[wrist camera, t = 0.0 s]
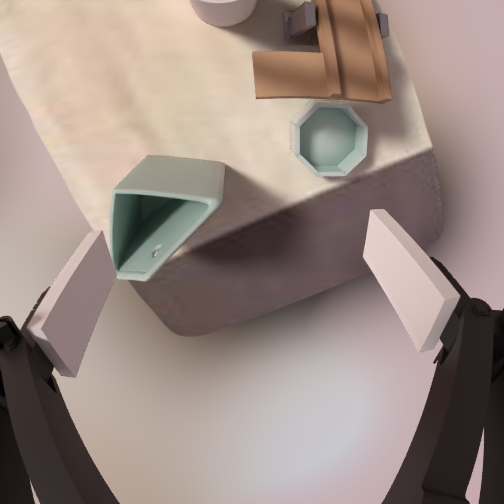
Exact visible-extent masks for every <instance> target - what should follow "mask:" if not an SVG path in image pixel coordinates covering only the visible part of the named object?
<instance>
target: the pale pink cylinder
mask: <svg viewBox="0 0 504 504" xmlns="http://www.w3.org/2000/svg"><path fill="white" fill-rule="evenodd" d="M189 2H190V4H191V5H192V7H193V9H194V11H195V13H196V15H197V16H198V17H199V18H200V19H201V20H202V21H204V22H206V23H207V24H210V25H213V26H219V27H227V26H233V25H236V24H239V23H241V22H243V21H244V20H246V19H247V18H248V17H249V16H250V15H251V14H252V13H253V11H254V9H255V6H256V3H257V0H189Z"/></svg>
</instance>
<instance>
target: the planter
mask: <svg viewBox="0 0 504 504" xmlns="http://www.w3.org/2000/svg"><path fill="white" fill-rule="evenodd" d="M224 176H225V164H224V163H222V162H216V161H207V160H199V159H190V158H181V157H172V156H154V155H148V156H146V157H145V158H144V159H143V160H142V161H141V162H140V163H139V164H138V165H137V166H136V167H135V168H134V169H133V170H132V171H131V172H130V173H129V174H128V175H127V176H126V177H125V178H124V179H123V180H122V181H121V182H120V183H119V184H118V185H117V186H116V187H115V188H114V189H113V191H112V198H111V207H110V256H111V259H112V262H113V264H114V267H115V270H116V273H117V277H116V279H122V280H137V281H149V280H150V279H151V278H152V277H153V276H154V275H155V274H156V273H157V271H158V270H159V269H160V268H161V267H162V266H163V265H164V264H165V263H166V262H167V261H168V259H169V258H170V257H171V256H172V255H173V254H174V253H175V252H176V251H177V250H178V249H179V248H180V247H181V246H182V245H183V244H184V243H185V242H186V241H187V240H188V239H189V238H190V237H191V236H192V234H193V233H194V232H195V231H196V230H197V229H198V228H199V227H200V226H201V225H202V224H203V223H204V222H205V221H206V220H207V219H208V218H209V217H210V216H211V215H212V214H213V213H214V212H215V211H216V210H217V209H218V208H219V207H220V206H221V204H222V200H223V190H224ZM157 251H158V252H157ZM156 252H157V254H156V255H155V256H154V254H155V253H156Z"/></svg>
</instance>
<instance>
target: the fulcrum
mask: <svg viewBox="0 0 504 504" xmlns="http://www.w3.org/2000/svg"><path fill="white" fill-rule="evenodd" d="M376 18H377V22H378V26H379V30H380V34H381V38H383V37H388V36H389V29H388V16H387V15H386V14H382V13H378V14H376ZM284 28H285V45H305V46H319V40H318V33H317V28H316V18H315V4H314V2H304V3H303V4H302V5H301V6H300V7H299V8H298V9H297V10H296V11H295V12H292V11H284Z"/></svg>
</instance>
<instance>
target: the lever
mask: <svg viewBox="0 0 504 504" xmlns="http://www.w3.org/2000/svg"><path fill="white" fill-rule="evenodd" d="M311 1H312V2H314V4H315V18H316V28H317V33H318V40H319V46H320V53H314V52H292V51H259V52H253V53H252V57H253V69H254V82H255V94H256V99H271V98H312V99H336V100H351V101H363V102H373V103H381V104H383V103H385V102H387V101H390V100H392V94H391V87H390V81H389V75H388V69H387V63H386V58H385V53H384V48H383V43H382V39H381V34H380V30H379V26H378V22H377V18H376V14H375V11H374V7H373V4H372V0H311Z"/></svg>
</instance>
